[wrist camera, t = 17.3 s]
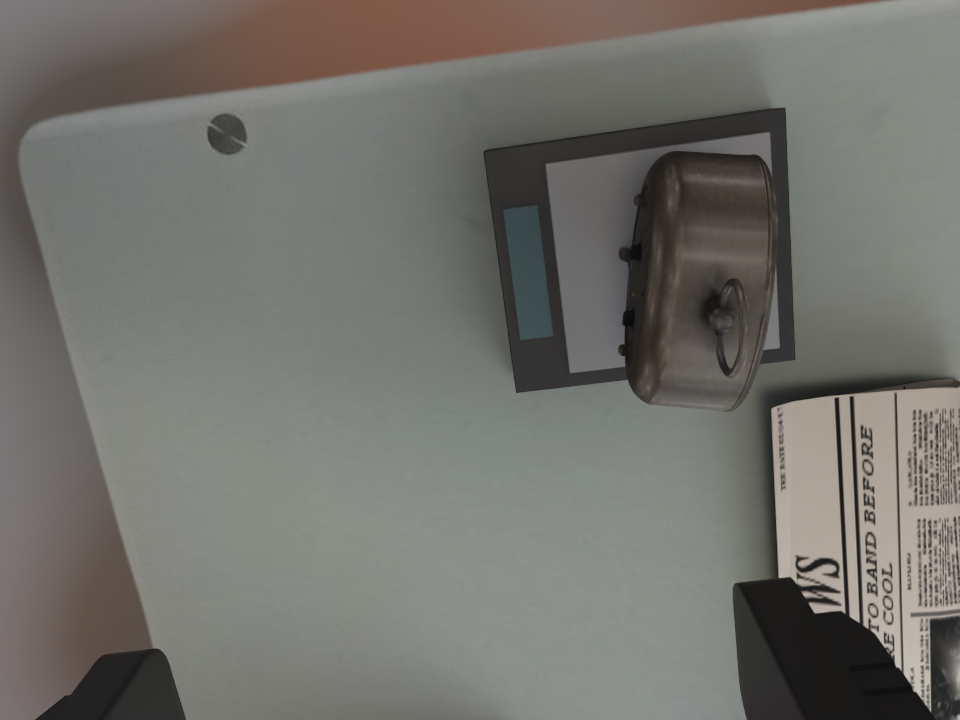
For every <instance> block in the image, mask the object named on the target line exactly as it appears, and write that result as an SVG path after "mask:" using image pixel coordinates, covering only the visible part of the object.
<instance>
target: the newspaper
mask: <svg viewBox="0 0 960 720" xmlns="http://www.w3.org/2000/svg"><path fill="white" fill-rule="evenodd" d="M771 419H772V441H773V463H774V486H775V508H776V530H777V552H778V575H779V578H785V577H791V578H792V579H793V580H794V581H795V582H796V584H797V586H798V587H799V589H800V590H801V592H802V594H803V595H804V597H805V598H806V600H807V602H808V603H809V605H810V606H811V608H812V610H813V611H814V613H824V612H833V611H842V612H844V613H845V614H847V615H848V616H850V617H851V618H853V619H854V620H856V621H857V622H859V623H860V624H862V625H863V626H865V627H866V628H868V629H869V630H871V631H872V632H874V633H875V635H876V636H877V637H878V639H879V640H880V642H881V643H882V644H883V646H884V647H885V649H886V650H887V651H888V653H889V654H890V656H891V657H892V658H893V660H894V661H895V665H896V668H897V667H899V668H900V670H901V671H902V672H903V674H904V675H905V677H906V678H907V679H908V681H909V682H910V684H911V685H912V689H913V692H917V694H918V695H919V696H920V698H921V699H922V701H923V702H924V703H925V705H926V706H927V708H928V709H929V710H930V712H931V713H932V715H933V716H934V717H935V719H936V720H960V381H958V380H956V379H941V380H927V381H921V382H915V383H910V384H904V385H898V386H892V387H886V388H881V389H875V390H869V391H864V392H859V393H853V394H846V395H835V396H826V397H819V398H812V399H805V400H798V401H792V402H789V403H786V404H782V405H779V406H776V407H773V408H771Z"/></svg>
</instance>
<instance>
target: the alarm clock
mask: <svg viewBox="0 0 960 720" xmlns="http://www.w3.org/2000/svg"><path fill="white" fill-rule="evenodd" d="M634 204H635V205H636V206H638V207H637V213H636V219H635V225H634V232H633V240H632V246H631V249H630V248H627V247H623V248H621V249H619V258H620V259H621V260H622V261H625V262H627V263H628V268H629V275H628V286H627V299H626V311H624V313H623V320H622V325H624V326H625V336H624V344H621V345H620V346H619V347H618V352H619V354H620V355H621V356H625V368H626V375H627V379H628V382H629V384H630V387H631V389H632V390H633V392H634V393H635V394H636V396H637V397H639V398H640V399H641V400H642V401H644V402H646V403H647V404H651V405H660V406H672V407H684V408H697V409H709V410H720V411H726V412H729V411H733V410H734V409H735V408H737V407H738V406H739V405H740V404H741V403H742V401H743V400H744V399H745V398H746V396H747V394H748V393H749V390H750V388H751V385H752V383H753V380H754V377H755V375H756V373H757V370H758V368H759V364H760V361H761V358H762V354H763V350H764V345H765V341H766V337H767V331H768V325H769V320H770V314H771V307H772V300H773V292H774V284H775V269H776V256H777V222H778V218H777V204H776V196H775V187H774V184H773V179H772V176H771V173H770V170H769V168H768V166H767V164H766V162H765V161H764V160H763V159H762V158H761V157H760V156H759V155H755V154H752V155H736V154H721V153H705V152H689V151H671V152H668V153H666V154H664V155H662V156H661V157H660V158H658V159H657V160H656V161H655V162H654V164H653V165H652V166H651V168H650V169H649V171H648V173H647V175H646V177H645V179H644V182H643V185H642V189H641V193H640V194H637V195H636V196H635V198H634Z"/></svg>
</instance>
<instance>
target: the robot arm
mask: <svg viewBox="0 0 960 720" xmlns="http://www.w3.org/2000/svg"><path fill="white" fill-rule="evenodd" d="M733 606H734V619H735V632H736V645H737V658H738V671H739V683H740V690H741V696H742V701H743V706H744V710H745V714H746V718H747V720H936V719H935V717H934V716H933V715H932V713H931V712H930V710H929V709H928V708H927V706H926V705H925V703H924V702H923V701H922V699H921V698H920V696H919V695H918V694H917V692H913V689H912V685H911V684H910V682H909V681H908V679H907V678H906V677H905V675H904V674H903V672H902V671H901V670H900V668H899V667H897V668H896V665H895V661H894V660H893V658H892V657H891V656H890V654H889V653H888V651H887V650H886V649H885V647H884V646H883V644H882V643H881V642H880V640H879V639H878V637H877V636H876V635H875V633H874V632H872V631H871V630H869V629H868V628H866V627H865V626H863V625H862V624H860V623H859V622H857V621H856V620H854V619H853V618H851V617H850V616H848V615H847V614H845V613H844V612H842V611H833V612H824V613H814V611H813V610H812V608H811V606H810V605H809V603H808V602H807V600H806V598H805V597H804V595H803V594H802V592H801V590H800V589H799V587H798V586H797V584H796V582H795V581H794V580H793V579H792V578H791V577H785V578H776V579H767V580H759V581H750V582H741V583H735V584H734V586H733ZM36 720H186V718H185V715H184V712H183V708H182V705H181V702H180V698H179V695H178V692H177V688H176V685H175V682H174V679H173V675H172V672H171V669H170V665H169V662H168V660H167V658H166V656H165V654H164V653H163V652H162V651H161V650H159V649H147V650H139V651H130V652H122V653H113V654H105V655H103V656H101V657H100V658H99V659H98V660H97V661H96V662H95V664H94V665H93V666H92V668H91V669H90V670H89V672H88V673H87V674H86V675H85V677H84V678H83V679H82V681H81V682H80V684H79V685H78V686H77V687H76V689H75V690H74V691H73V693H72V694H71V695H68V696H64V697H63V698H62V699H61V700H59V701H58V702H57V703H56V704H54V705H53V706H52V707H51V708H49V709H48V710H47V711H46V712H44V713H43V714H42V715H41V716H39V717H38V718H37V719H36Z"/></svg>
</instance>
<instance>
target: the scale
mask: <svg viewBox="0 0 960 720" xmlns="http://www.w3.org/2000/svg"><path fill="white" fill-rule="evenodd" d="M671 151H689V152H705V153H721V154H736V155H752V154H755V155H759V156H760V157H761V158H762V159H763V160H764V161H765V162H766V164H767V166H768V168H769V170H770V173H771V176H772V179H773V184H774V187H775V196H776V204H777V218H778V222H777V256H776V269H775V284H774V292H773V300H772V307H771V314H770V320H769V325H768V331H767V337H766V341H765V345H764V350H763V354H762V358H761V361H760V364H765V363H773V362H782V361H790V360H795V341H794V316H793V290H792V265H791V239H790V214H789V188H788V163H787V137H786V112H785V108H774V109H765V110H758V111H751V112H745V113H738V114H731V115H724V116H717V117H710V118H703V119H696V120H689V121H682V122H675V123H669V124H662V125H655V126H648V127H641V128H634V129H627V130H620V131H613V132H606V133H599V134H592V135H586V136H579V137H572V138H565V139H558V140H551V141H544V142H537V143H530V144H523V145H516V146H510V147H503V148H496V149H489V150H485V151H484V159H485V166H486V174H487V181H488V188H489V196H490V203H491V210H492V218H493V225H494V233H495V240H496V247H497V255H498V262H499V269H500V277H501V284H502V291H503V299H504V306H505V314H506V321H507V328H508V336H509V343H510V350H511V358H512V365H513V372H514V380H515V387H516V392H517V393H519V392H528V391H536V390H545V389H553V388H561V387H570V386H578V385H587V384H595V383H604V382H612V381H621V380H628V379H627V375H626V368H625V356H621V355H620V354H619V352H618V347H619V346H620V345H621V344H624V336H625V326H624V325H622V320H623V313H624V311H626V299H627V286H628V275H629V268H628V263H627V262H625V261H622V260H621V259H620V258H619V249H621V248H623V247H627V248H630V249H631V246H632V240H633V232H634V225H635V219H636V213H637V207H638V206H636V205H635V204H634V198H635V196H636V195H637V194H640V193H641V189H642V185H643V182H644V179H645V177H646V175H647V173H648V171H649V169H650V168H651V166H652V165H653V164H654V162H655V161H656V160H657V159H658V158H660V157H661V156H662V155H664V154H666V153H668V152H671Z"/></svg>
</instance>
